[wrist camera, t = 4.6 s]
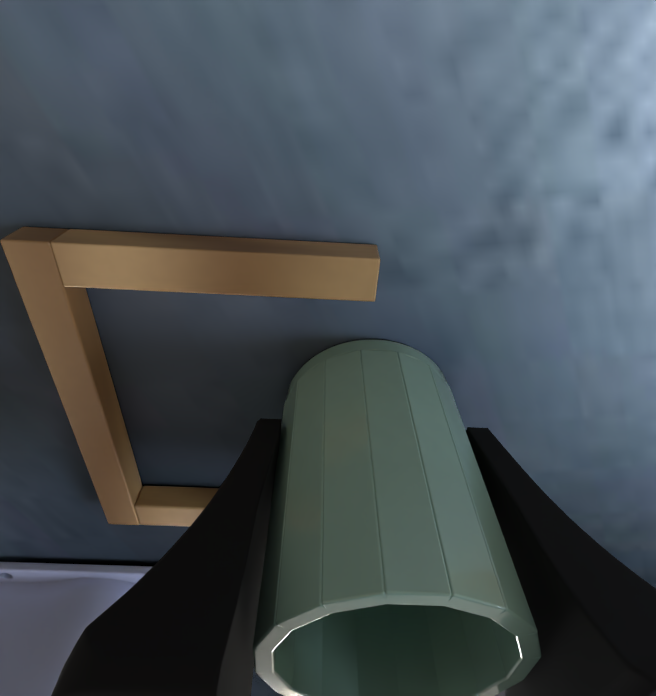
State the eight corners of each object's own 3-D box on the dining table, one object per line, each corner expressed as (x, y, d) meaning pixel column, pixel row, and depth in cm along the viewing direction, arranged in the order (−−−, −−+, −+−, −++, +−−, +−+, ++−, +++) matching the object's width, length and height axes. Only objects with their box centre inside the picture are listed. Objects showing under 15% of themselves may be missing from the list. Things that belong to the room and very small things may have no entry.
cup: (285, 459, 16) (258, 712, 10) (285, 334, 13) (246, 588, 7) (432, 465, 16) (495, 718, 10) (466, 343, 13) (588, 599, 7)
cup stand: (118, 502, 18) (107, 524, 17) (22, 225, 11) (-3, 239, 10) (344, 510, 18) (345, 532, 17) (377, 244, 11) (381, 259, 11)
